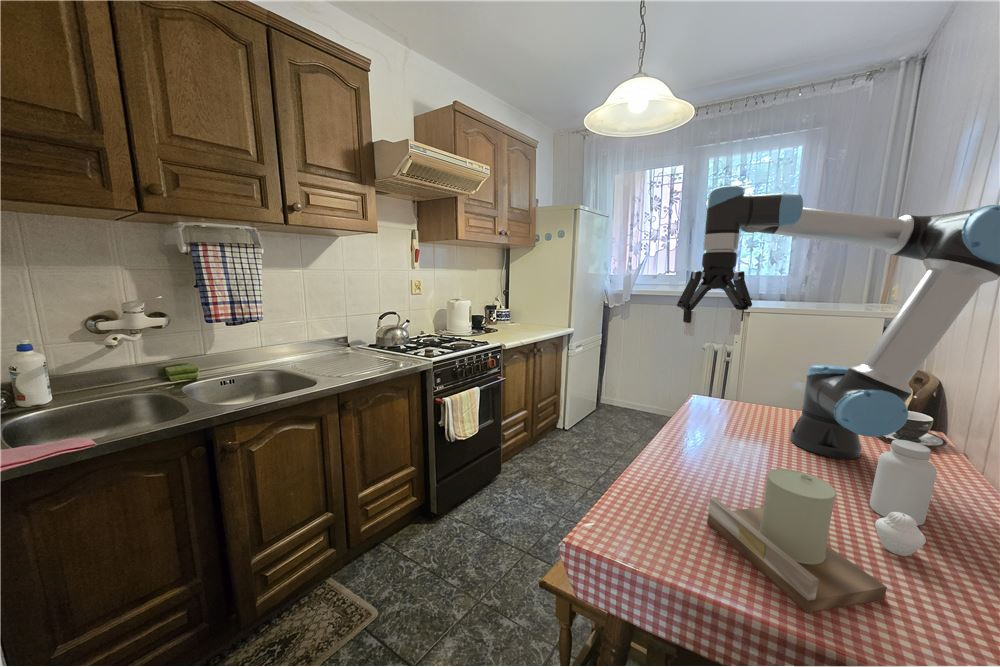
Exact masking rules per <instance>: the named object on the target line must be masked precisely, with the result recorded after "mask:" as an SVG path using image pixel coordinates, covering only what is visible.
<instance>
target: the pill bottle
mask: <svg viewBox="0 0 1000 667" xmlns="http://www.w3.org/2000/svg"><path fill="white" fill-rule="evenodd" d="M931 454H932V450H931V449H930V448H929V447H928V446H926V445H924V444H921V443H918V442H914V441H911V440H906V439H893V440H892V441H891V444H890V450H889V451H885V452H882V453H881V454H880V455H879V457H878V462H877V466H876V470H875V475H874V480H873V483H872V489H871V494H870V499H869V506H870V508H871V510H873V511H874V512H875V513H877V514H879V515H880V516H882V518H885V517H887V516H888V514H890V513H891V512H900V513H903V514H906V515H908V516H910V517H912V518H913V519H914V520H915V521H916V523H917V527H920V526H922V525H924V523H925V522H926V519H927V517H928V516H927V515H928V512H929V511H928V510H929V506H930V503H931V499H932V494H933V490H934V486H935V483H936V479H937V475H938V474H937V473H938V472H937V468H936V466H935V465H934V464H933V463H932V462H930V457H931ZM919 525H920V526H919Z"/></svg>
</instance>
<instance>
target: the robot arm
mask: <svg viewBox="0 0 1000 667" xmlns="http://www.w3.org/2000/svg"><path fill="white" fill-rule="evenodd" d="M704 228H705V230H704V231H705V232H704V242H703V251H705V252H704V253H703V254H702V260H701V261H702V262H701V266H702V269H703V270H702V271H701V270H692V271H691V273H690V277H689V280H688V282H687V285H686V286H685V288H684V290H683V292H682V294H681V295H680V298H679V300H678V301H677V303H676V307H678V308H680V309H681V310H683V319H682V321H683V323H684V333H683V335H685V336H688V337H694V335H695V326H696V325H695V324H696V317H697V316H696V314H697V311H696V310H694V309H695V308H696V307H697V305H698V304H699V303H700V301H701V300H702V299H703V298H704V297H705V295H706V294H707V293H708V292H710V291H711V290H723V291H724V293H725V295H726V296H727V297H728V299H729V301H730V302H731V304H732V306H733V307H734V308H731V315H730V324H729V332H728V333H729V334H731V335H737V336H740V335H741V328H742V327H741V325H742V322H743V320H744V314H745V311H747V310H748V309H749V308H751V307H752V306H753V303H752V300H751V297H750V293H749V290H748V287H747V286H748V285H747V284H746V280H745V275H746V274H745V271H744V270H743V271H742V270H740V271H739V270H737V271H736V270H735V271H734V268H735V267H736V265H737V257H738V253H737V252H735V251H737V250H738V248H739V236H740V230H741V231H742V232H745V233H751V234H754V233H760V234H761V233H763V234H770V235H777V236H778V235H779V236H786V237H792V238H799V239H805V240H806V239H808V240H816V241H821V242H829V243H835V244H842V245H849V246H858V247H864V248H865V247H866V248H872V249H878V250H879V249H880V250H883V252H885V254H886V255H891V256H897V257H904V258H908V259H914V260H919V261H922V263H923V266H924V267H925V269H926V271H925V273H924V274H923V275H922V276H921V278H920V280H919V281H918V282H917V284H916V285H915V287H914V289H912V290H911V293H910V294H909V295H908V297H907V298H906V300H905V301H904V303H903V304H902V306H901V307H900V308H899V310H898V311H897V313H896V314H895V315H894V317H893V318H892V320H891V322H890V323H889V324H888V326H887V327H886V328H885V330H884V331H883V332H882V334H881V336H880V337H879V339H878V340H877V342H876V343H875V344H874V346H873V347H872V349H871V350H870V351H869V353H868V354H867V356H866V357H865V358H864V360H863V361H862V363H861V364H856V365H852V366H839V365H832V364H831V365H830V364H812V365H811V366H809V368H808V371H807V374H806V377H805V378H806V382H805V388H804V395H803V402H802V409H801V410H802V411H801V415H800V417H799V418H798V419H797V421H796V422H795V424H794V427H793V428H792V429H791V431H790V437H789V439H790V442H791V443H793V445H795V446H798V447H799V448H801V449H803V450H806V451H808V452H811V453H814V454H817V455H820V456H824V457H830V458H834V459H835V458H836V459H844V460H853V459H858V458H859V457H861V453H862V444H861V442H860V436H863V437H867V438H869V437H870V438H877V437H886V436H890V435H892V434H893V433H896V432H898V431H899V430H900V429H902V428H903V426H904V425H905V424H906V423H907V421H908V417H909V411H908V407H907V404H906V402H907V400H908V399H909V398H910V396H911V395H912V394H913V391H912V388H911V387H910V384H909V382H910V381H911V379H913V377H914V375H916V373H917V372H918V370H919V369H920V368H921V366H922V365H923V363H924V362H925V361H926V359H927V358H928V357H929V355H930V354H931V353H932V351H933V350H934V349H935V348H936V346H937V345H938V343H939V342H940V341H941V339H942V338H943V337H944V335H946V333H947V331H948V330H949V329H950V327H951V326H952V325H953V323H954V322H955V320H956V319H957V318H958V316H959V315H960V314H961V313H962V311H963V310H964V309H965V307H966V306H967V304H968V303H969V302H970V301H971V299H972V297H974V295H975V294H976V292H977V291H978V289H979V288H980V287H981V286H982V285H984V284H987V283H989V282H994V281H997V280H999V279H1000V204H990V205H986V206H981V207H979V208H974V209H973V208H972V209H967V210H962V211H957V212H950V213H942V214H935V215H934V214H933V215H912V214H911V215H910V214H904V215H902V216H899V217H889V216H881V215H873V214H863V213H855V212H846V211H838V210H837V211H836V210H828V209H821V208H820V209H818V208H810V207H804V200H803V196H802V195H801V194H800V193H798V192H794V193H793V192H785V191H784V192H779V193H778V192H777V193H766V194H745V192H744V188H743V187H742V186H741V185H725V186H719V187H716V188H713V189H712V190H711V191H710V192H709V194H708V199H707V207H706V216H705V227H704ZM701 280H702V281H701Z"/></svg>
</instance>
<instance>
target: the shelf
mask: <svg viewBox="0 0 1000 667" xmlns="http://www.w3.org/2000/svg"><path fill="white" fill-rule="evenodd" d="M762 513H763V506H762V507H752V508H744V509H735V510H732V509H731V508H729V506H727V505H725V503H723V502H722V501H720V500H719V499H718V498H717V497H710V498H709V505H708V514H707V524H708V525H709V526H711V528H712V529H713V530H715V531H716V532H717V533H718V534H719V536H721V537H722V538H723V539H724V540H726V542H728V543H729V544H730V545H731V546H732V547H733V548H735V549H736V551H738V552H739V554H741V555H742V556H743V557H744V558H745V559H747V561H749V562H750V563H751V565H753V566H754V567H755V568H756V569H758V571H760V573H761V574H762V575H764V576H765V577H766V578H769V581H770V582H771V583H773V585H775V584H776V585H775V586H776V587H777V588H778V587H779V588H780V591H781V592H783V594H785V595H786V596H787V595H788V596H789V597H790V598H791V599H792V600H791V601H792V602H793V603H795V604H796V605H797V606H798V607H799V608H800V609H801V608H802V611H803V612H805V613H806V614H807V613H812V612H813V613H814V612H818V611H823V610H829V609H835V608H836V609H837V608H840V607H841V608H842V607H846V606H852V605H858V604H862V603H869V602H874V601H879V600H885V598H886V593H887V589H888V587H887V586H886V585H885V584H883V583H882V582H880V581H879V580H878V579H876V578H875V577H873V576H872V575H870V574H869V573H867V572H866V571H865V570H863V569H861V567H859V566H857V565H856V564H854V563H853V562H852V561H850V560H848V558H846V557H845V556H843V555H842V554H841V553H838V552H837V551H836V550H834V549H833V548H832V547H830V546H828V545H826V552H825V554H826V558H825V561H824V562H822V563H820V564H816V565H807V564H801V563H797V562H796V561H795V560H793V559H792V558H791V557H790V556H788V555H787V554H786V553H785V552H783V551H782V550H781V549H780V548H778V547H777V546H776V545H775V544H773V543H772V542H771V541H770V540H768V539H767V538H766V537H765V536H763V535H762V534H761V533H759V529H760V525H761V520H762ZM779 588H778V589H779ZM788 596H787V597H788ZM789 597H788V598H789ZM790 598H789V599H790Z"/></svg>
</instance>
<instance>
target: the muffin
mask: <svg viewBox="0 0 1000 667" xmlns="http://www.w3.org/2000/svg"><path fill="white" fill-rule="evenodd" d="M874 526H875V528H876V533H877V535H878V538H879V540H880V541H881V545H882V546H883V547H884V549H886V550H887V551H889V552H890V553H893V554H895V555H897V556H901V557H909V556H911V555H912V554H914V553H916V552H917V551H918V550H921V548H922V547H923V546H925V544H926V542H927V540H926V537H925V535H924V534H923V532H922V531H921V530H920V529H919V526H917V523H916V521H915V520H914V519H913V518H912V517H910V516H908V515H906V514H903V513H900V512H891V513H890V514H888V516H887V517H881V518H878V519H877V520H876V521H875V522H874Z"/></svg>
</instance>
